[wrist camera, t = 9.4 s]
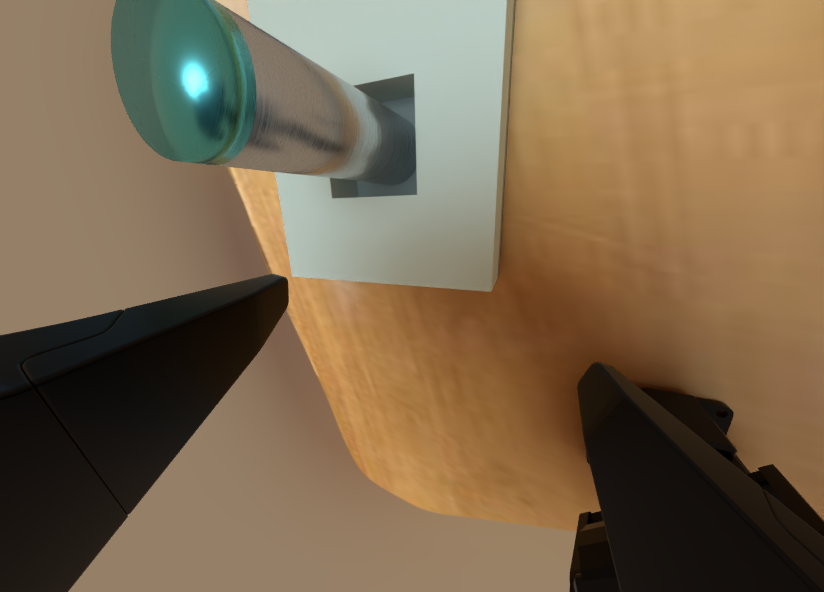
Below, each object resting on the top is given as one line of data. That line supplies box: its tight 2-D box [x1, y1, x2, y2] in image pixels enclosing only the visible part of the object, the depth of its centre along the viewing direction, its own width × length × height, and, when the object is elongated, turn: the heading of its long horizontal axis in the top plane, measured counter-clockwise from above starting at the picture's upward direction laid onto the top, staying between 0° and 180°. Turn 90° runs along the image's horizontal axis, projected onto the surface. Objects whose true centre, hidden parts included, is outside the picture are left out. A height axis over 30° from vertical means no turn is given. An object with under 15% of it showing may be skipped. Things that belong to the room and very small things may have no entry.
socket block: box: [247, 0, 516, 292], centre depth 18 cm, size 16×14×4 cm
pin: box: [111, 0, 417, 185], centre depth 13 cm, size 4×4×13 cm
